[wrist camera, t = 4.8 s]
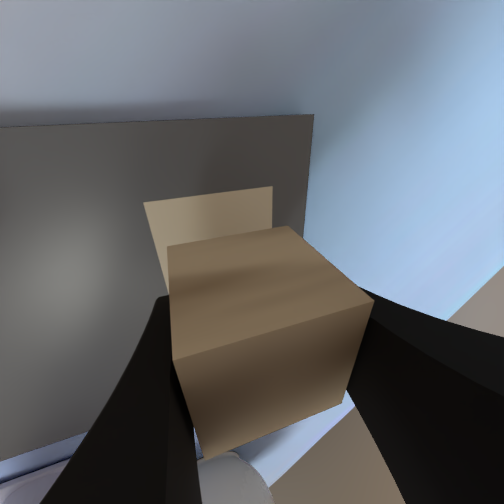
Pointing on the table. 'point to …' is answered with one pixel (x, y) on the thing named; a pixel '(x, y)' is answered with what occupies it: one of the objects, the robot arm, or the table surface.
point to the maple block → (260, 333)
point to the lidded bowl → (231, 481)
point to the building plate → (117, 245)
